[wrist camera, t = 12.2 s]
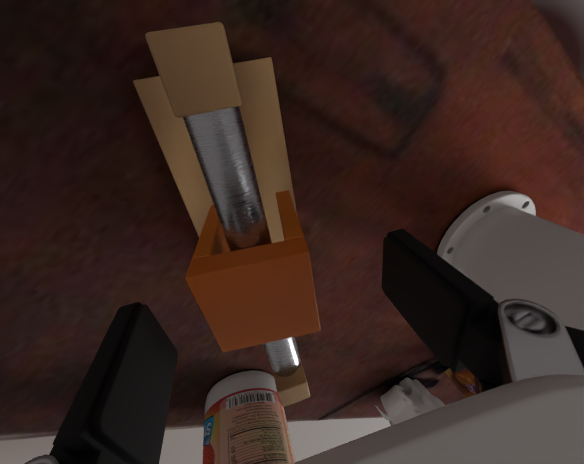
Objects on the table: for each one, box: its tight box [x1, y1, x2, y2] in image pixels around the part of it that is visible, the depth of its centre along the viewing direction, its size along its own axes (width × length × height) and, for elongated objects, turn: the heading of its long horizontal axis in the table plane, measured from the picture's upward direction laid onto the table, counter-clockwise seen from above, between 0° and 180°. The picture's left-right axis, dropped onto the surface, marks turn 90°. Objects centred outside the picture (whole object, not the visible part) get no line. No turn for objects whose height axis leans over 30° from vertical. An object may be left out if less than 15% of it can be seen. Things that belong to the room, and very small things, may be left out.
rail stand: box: [133, 22, 310, 407], centre depth 14 cm, size 8×16×12 cm, turn 9°
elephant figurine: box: [376, 378, 445, 426], centre depth 40 cm, size 10×12×9 cm
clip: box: [185, 190, 321, 352], centre depth 11 cm, size 4×4×6 cm
